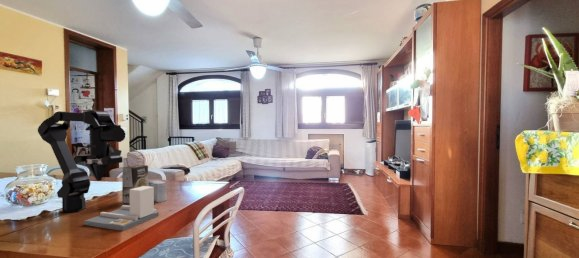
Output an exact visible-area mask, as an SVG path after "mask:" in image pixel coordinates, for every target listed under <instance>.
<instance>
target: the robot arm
mask: <svg viewBox="0 0 579 258" xmlns="http://www.w3.org/2000/svg"><path fill="white" fill-rule="evenodd" d="M59 122H62V123H59ZM71 122H82V123H84V124H86V125H89V126H87V127H86V128H85V131H89V144H87V145H86V148H89V153H88V154H80V155H79V154H78V155H77V156H75V158H74V156H73V154H72V153H71V150H70V147H69V145H68V143H67V141H66V139H67V136H68V132H67V131H68V130H69V129H70V128H71ZM37 133H38V135H39V136H40V137H41V139H42V141H44V142H45V143H47V144H49V145H50V147H51V150H52V151H53V154H54V156H55V158H56V162H58V165H59V167H60V170H61V171H62V174H63V176H62V179H61V185H62V186H61V187H60V188H59V189H58V191H57V193H56V194H57V198H60V199H62V200H61V202H62V203H61V204H62V205H61V208H62V210H60V211H59V214H61V213H63V214H64V213H77V212H81V210H83V209H86V208H87V205H86V197H85V194H88V193H89V189H90V186H91V178H90V177H89V174H88V172H87V171H86V170H84V171H81V170H80V169H79V167H78V165H77V164H78V163H79V164H81V163H82V162H83V163H84V162H85V166H87V168H88V169H89V170H90V172H91V173H92V176H93V177H94V178H95V179H96V181H97V182H99V181H102V179H103V176H104V174H105V171H106V169H107V167H108V166H110V165H113V164H120V163H123V162H124V161H123V156H121V155H122V150H121V149H117V148H113V147H112V145H111V144H110V143H111V142H112V143H121V142H123V141H124V140H125V138H126V132H125V130H124V129H123V128H122V126H121V124H116V123H115V122H114V120H113V118H112V117H111V115H110V112H108V111H106V110H94V109H92V110H86V111H84V112H70V111H58V110H57V111H55V112H54V113H53V115H50V117H48V118H46V119H44V120H43V121H42V122H41V123H40V125H39V126H38V128H37ZM86 162H87V163H86Z"/></svg>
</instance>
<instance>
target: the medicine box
mask: <svg viewBox="0 0 579 258" xmlns="http://www.w3.org/2000/svg"><path fill="white" fill-rule="evenodd" d="M148 186H150V187H154V202H155V203H162V202H165V201H167V182H166V181H161V180H153V181H148Z"/></svg>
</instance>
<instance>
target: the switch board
mask: <svg viewBox="0 0 579 258" xmlns="http://www.w3.org/2000/svg"><path fill="white" fill-rule="evenodd" d="M99 213H100V214H99V215H97V216H93V217H91V218H88V219H85V220H84V226H91V227H97V228H102V229H109V230H115V231H116V230H117V231H120V230H121V231H122V232H124V231H126V230H129V229H131V228H133V227H136V226H138V225H141V224H142V223H145V222H149V220H153V219H155V218H156V217H159V216H160V215H159V213H160V212H159V211H158V209H157V208H154V213H152V214H150V215H147V216H145V217H142V218H138V217H137V216H130V205H126V204H123V205H121V208H118V209H115V210H113V211H108V212H105V211H101V212H99Z"/></svg>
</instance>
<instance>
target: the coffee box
mask: <svg viewBox="0 0 579 258" xmlns="http://www.w3.org/2000/svg"><path fill="white" fill-rule="evenodd" d="M121 177H122V178H121V179H122V181H121V183H122V185H121V186H122V187H121V188H122V190H121V191H122V192H121V193H122V194H121V202H122V203H125V204H130V189H134V188H137V187H141V186H149V165H146V164H143V165H141V164H140V165H138V164H136V165H131V166H127V167H126V166H125V167H122V176H121Z"/></svg>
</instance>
